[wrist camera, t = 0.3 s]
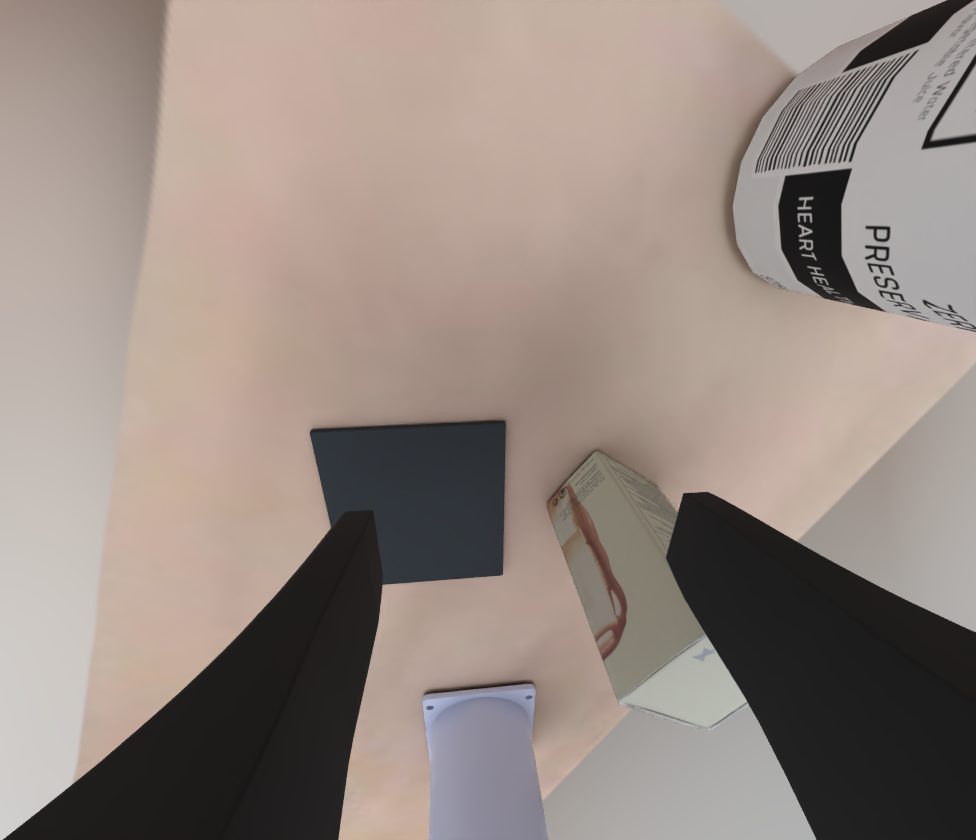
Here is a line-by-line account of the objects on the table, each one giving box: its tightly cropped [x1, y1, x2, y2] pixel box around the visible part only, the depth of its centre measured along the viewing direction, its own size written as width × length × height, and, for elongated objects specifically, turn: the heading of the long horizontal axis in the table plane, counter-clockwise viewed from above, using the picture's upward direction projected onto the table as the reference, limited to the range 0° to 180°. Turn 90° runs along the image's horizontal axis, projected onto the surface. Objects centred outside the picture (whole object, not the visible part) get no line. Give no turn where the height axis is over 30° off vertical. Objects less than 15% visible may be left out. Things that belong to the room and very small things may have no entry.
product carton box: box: [547, 451, 749, 731], centre depth 18 cm, size 5×4×10 cm
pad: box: [310, 421, 506, 585], centre depth 21 cm, size 10×9×1 cm
